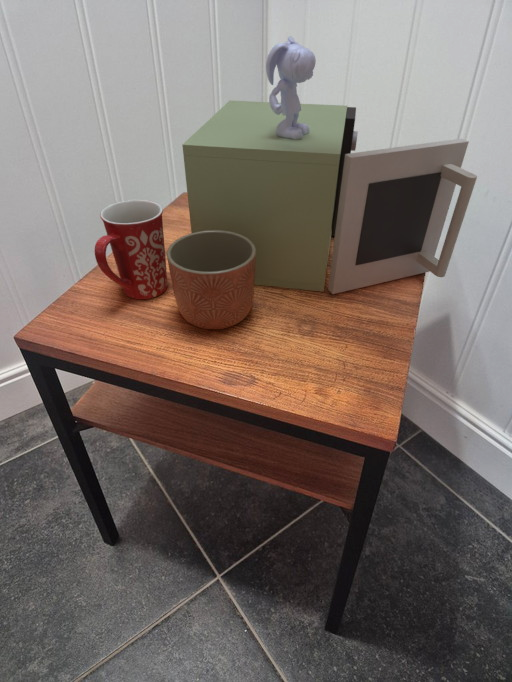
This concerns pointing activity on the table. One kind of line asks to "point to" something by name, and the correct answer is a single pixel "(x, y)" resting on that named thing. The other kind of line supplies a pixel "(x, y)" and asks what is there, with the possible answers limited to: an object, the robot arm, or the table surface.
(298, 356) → the table surface
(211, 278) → the planter
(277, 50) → the toy figurine
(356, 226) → the microwave door
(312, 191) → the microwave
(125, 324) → the table surface
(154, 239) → the mug
